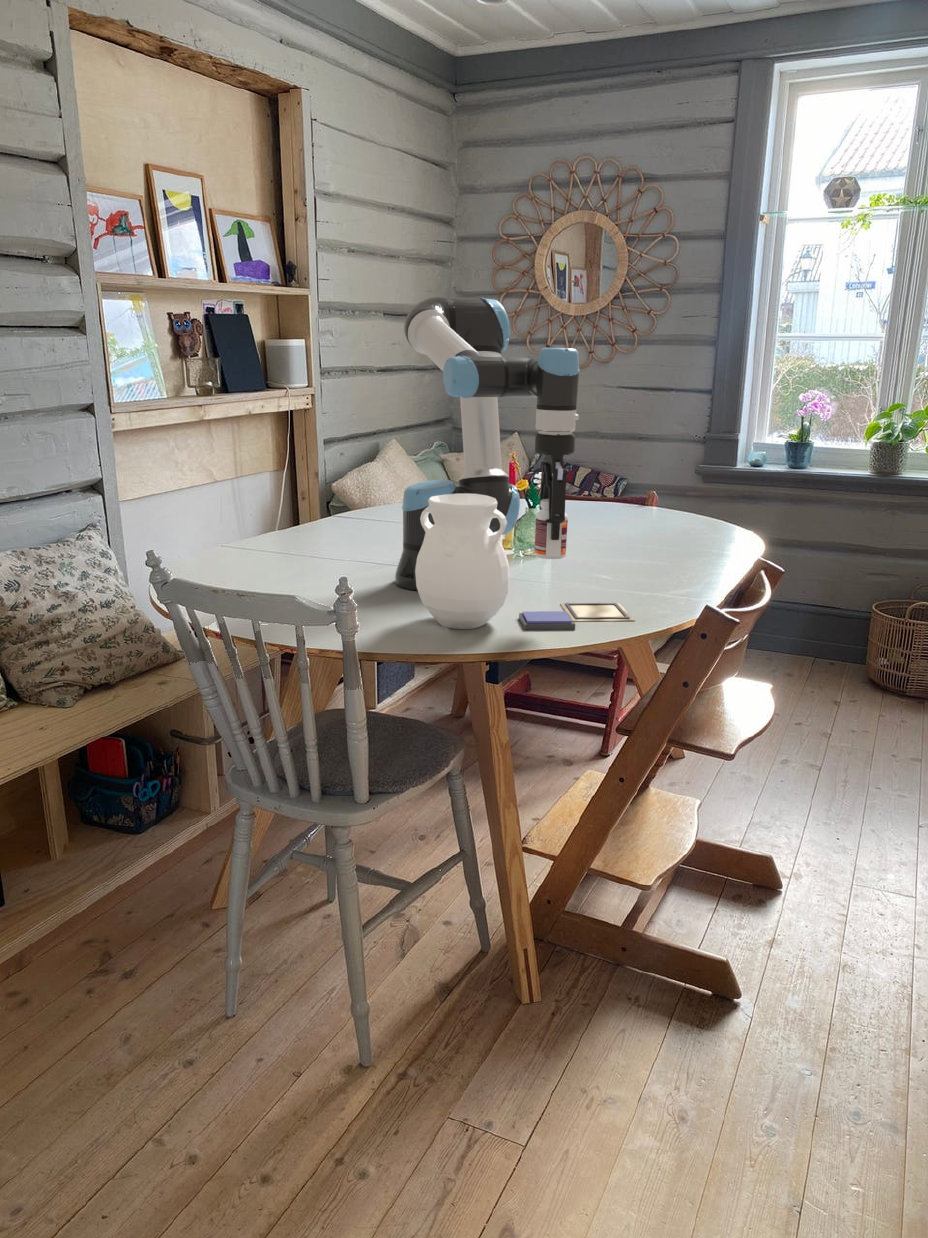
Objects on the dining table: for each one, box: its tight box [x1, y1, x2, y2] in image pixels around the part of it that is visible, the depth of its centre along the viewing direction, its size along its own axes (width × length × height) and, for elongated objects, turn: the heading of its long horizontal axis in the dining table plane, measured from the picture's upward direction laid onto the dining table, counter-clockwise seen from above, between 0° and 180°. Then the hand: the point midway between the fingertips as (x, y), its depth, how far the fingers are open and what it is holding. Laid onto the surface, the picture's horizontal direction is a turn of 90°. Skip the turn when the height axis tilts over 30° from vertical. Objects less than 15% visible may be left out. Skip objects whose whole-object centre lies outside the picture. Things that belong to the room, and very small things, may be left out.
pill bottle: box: [533, 499, 569, 560], centre depth 185 cm, size 6×6×11 cm
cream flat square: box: [559, 602, 636, 622], centre depth 199 cm, size 13×13×1 cm
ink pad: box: [518, 610, 576, 631], centre depth 190 cm, size 10×8×2 cm
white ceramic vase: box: [415, 493, 511, 630], centre depth 186 cm, size 19×18×25 cm
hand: (549, 551), depth 186 cm, fingers closed on pill bottle, 6 cm apart
